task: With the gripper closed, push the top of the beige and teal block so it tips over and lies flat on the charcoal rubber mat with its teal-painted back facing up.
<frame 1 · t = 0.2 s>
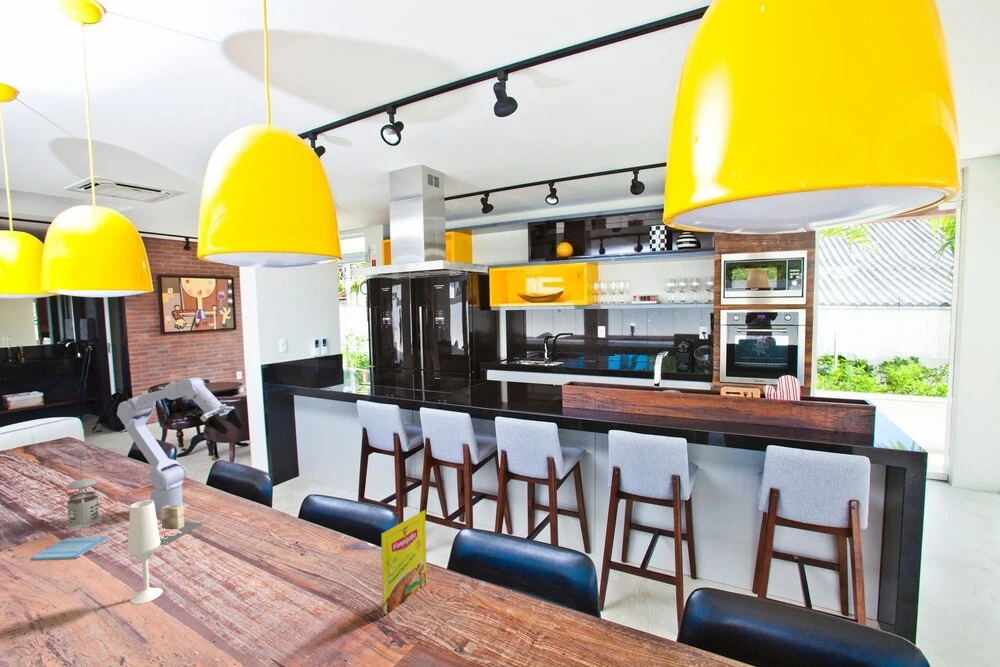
hand: (234, 429, 166), 31 cm above the table, tool tilted 45°, fingers open, 7 cm apart
folded blue cloth: (72, 550, 144), on the table
beige and teal block: (173, 527, 156), resting on mat
food package: (406, 600, 116), on the table
champagne flute: (146, 596, 119), on the table
mat: (164, 533, 153), on the table
french press: (84, 522, 163), on the table
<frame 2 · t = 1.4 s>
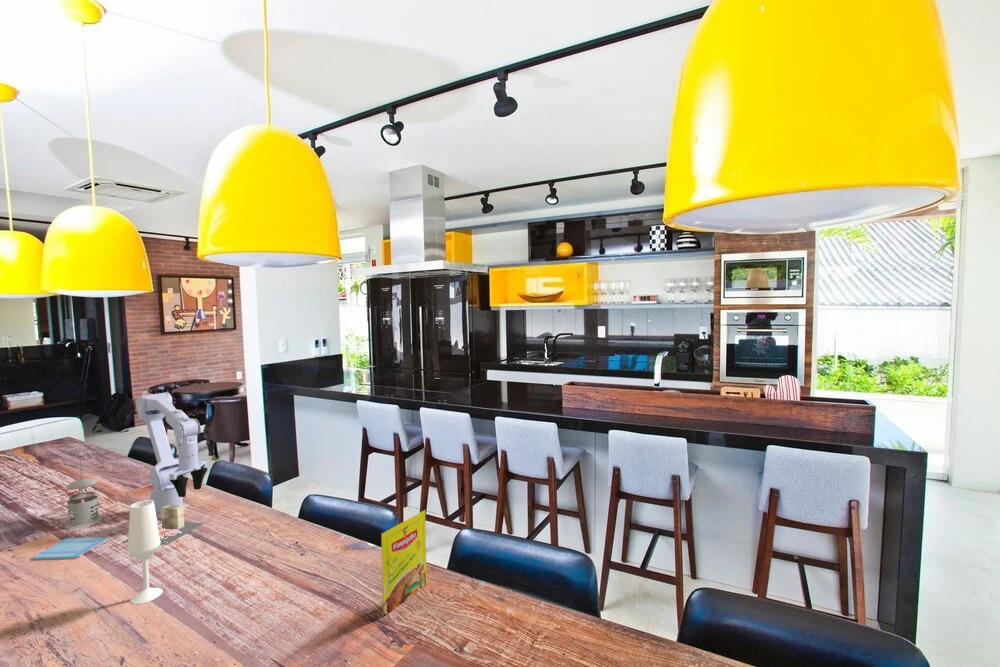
hand: (189, 492, 163), 9 cm above the table, tool pointing down, fingers open, 6 cm apart
nothing on the table moved.
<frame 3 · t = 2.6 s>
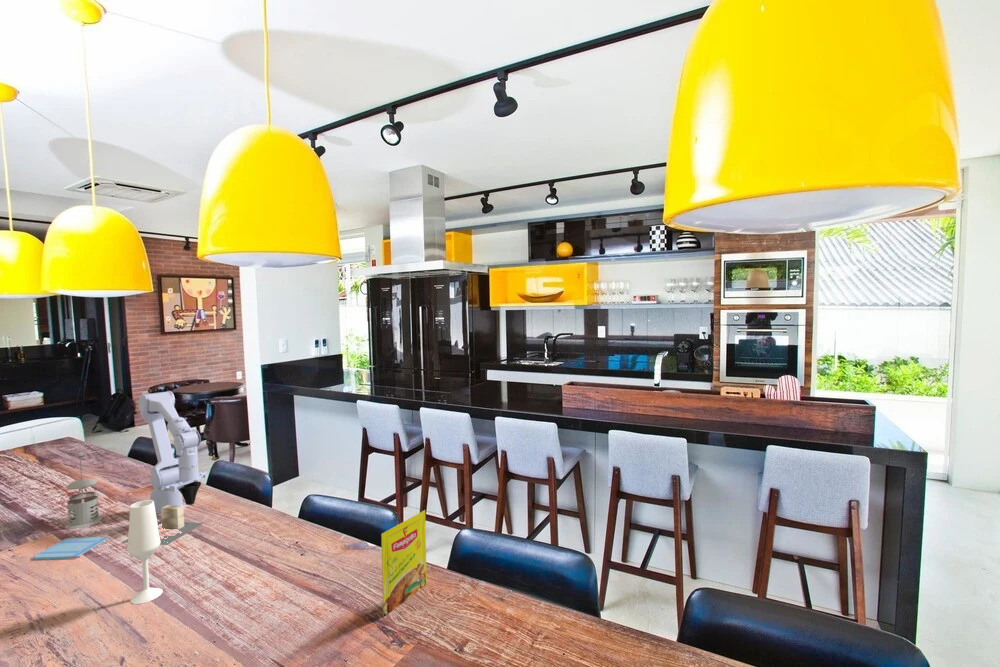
hand: (190, 504, 163), 5 cm above the table, tool pointing down, fingers closed
nothing on the table moved.
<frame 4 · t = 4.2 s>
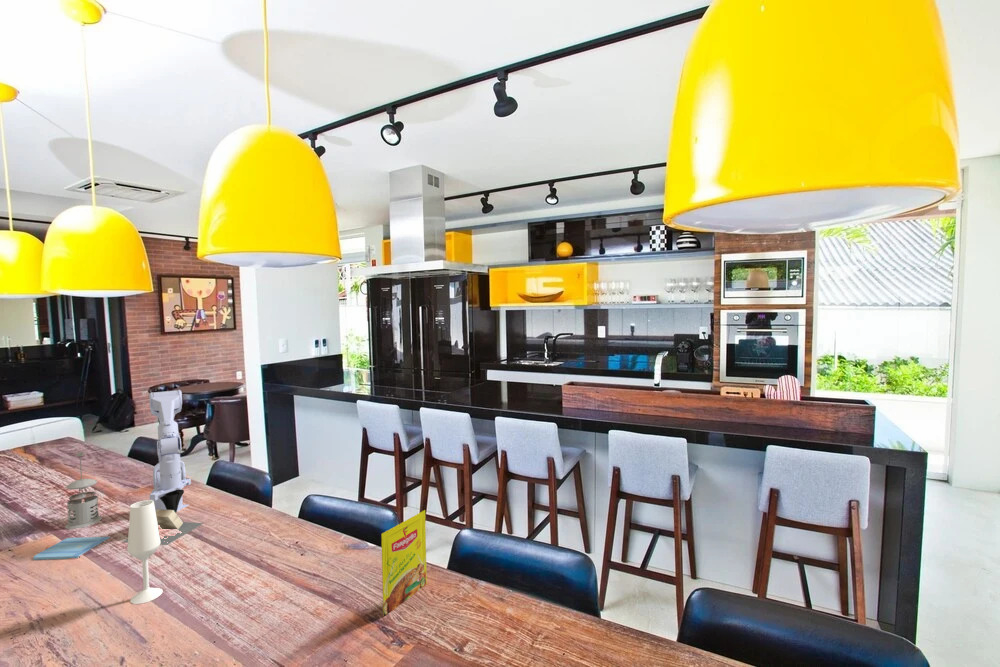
hand: (172, 513, 156), 5 cm above the table, tool pointing down, fingers closed
beige and teal block: (172, 525, 156), point 1 cm above the table, tilted 32°, touching mat
everything else where it was.
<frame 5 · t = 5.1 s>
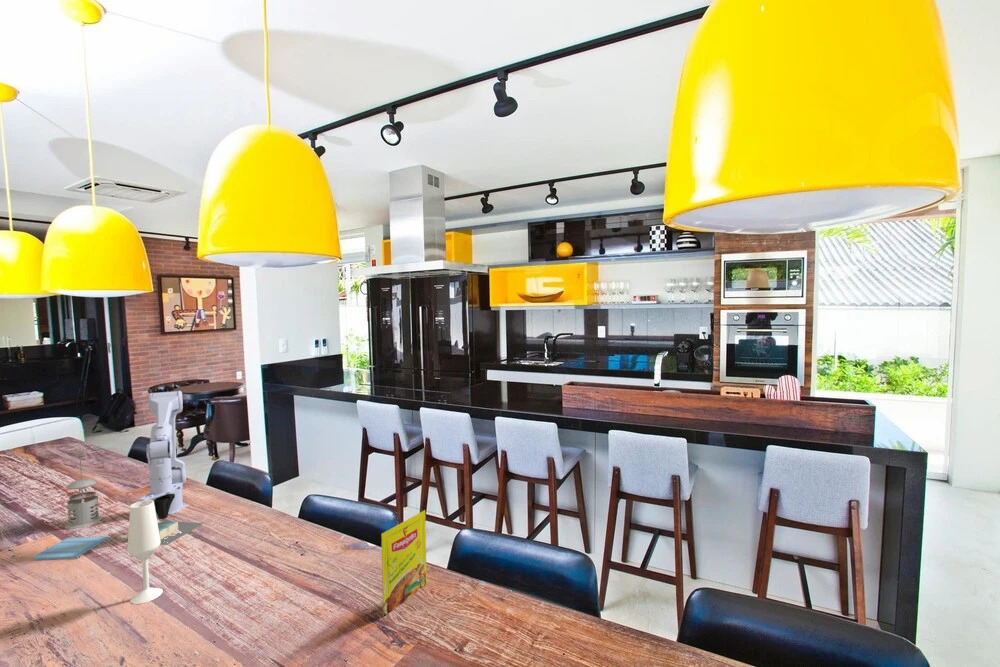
hand: (163, 518, 152), 5 cm above the table, tool pointing down, fingers closed
beige and teal block: (169, 525, 155), point 2 cm above the table, tilted 90°, touching mat
everything else where it was.
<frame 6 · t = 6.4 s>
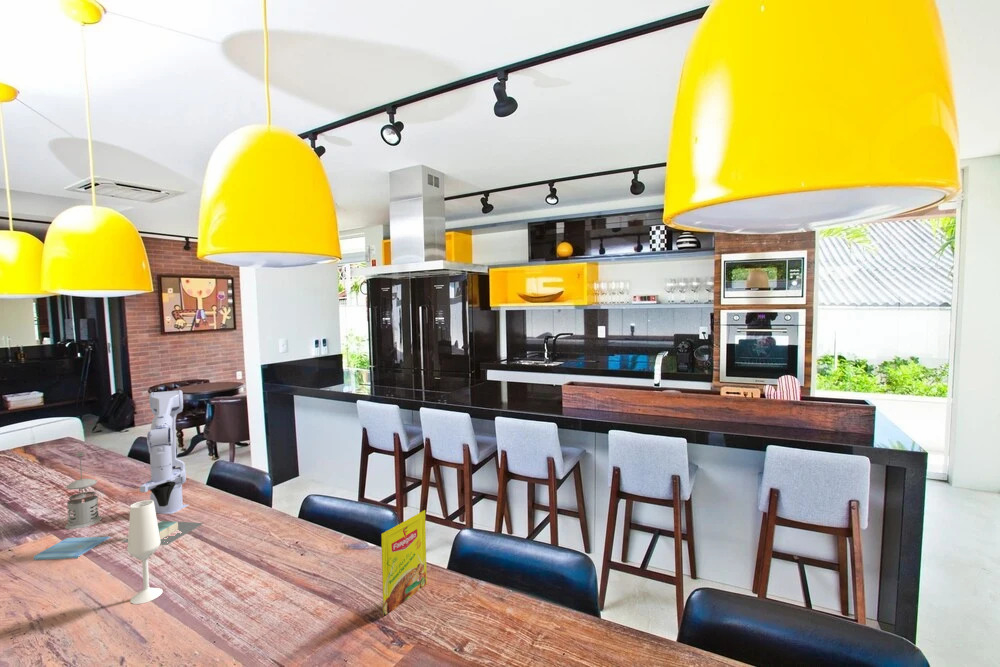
hand: (163, 505, 153), 9 cm above the table, tool pointing down, fingers closed
nothing on the table moved.
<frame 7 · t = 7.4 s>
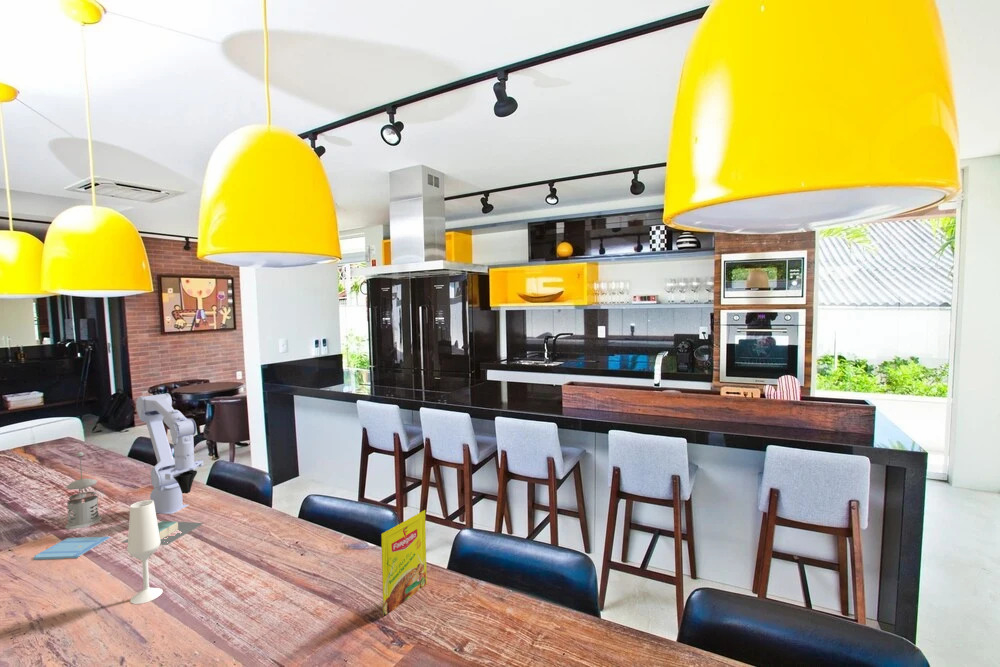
hand: (186, 492, 163), 9 cm above the table, tool pointing down, fingers closed
nothing on the table moved.
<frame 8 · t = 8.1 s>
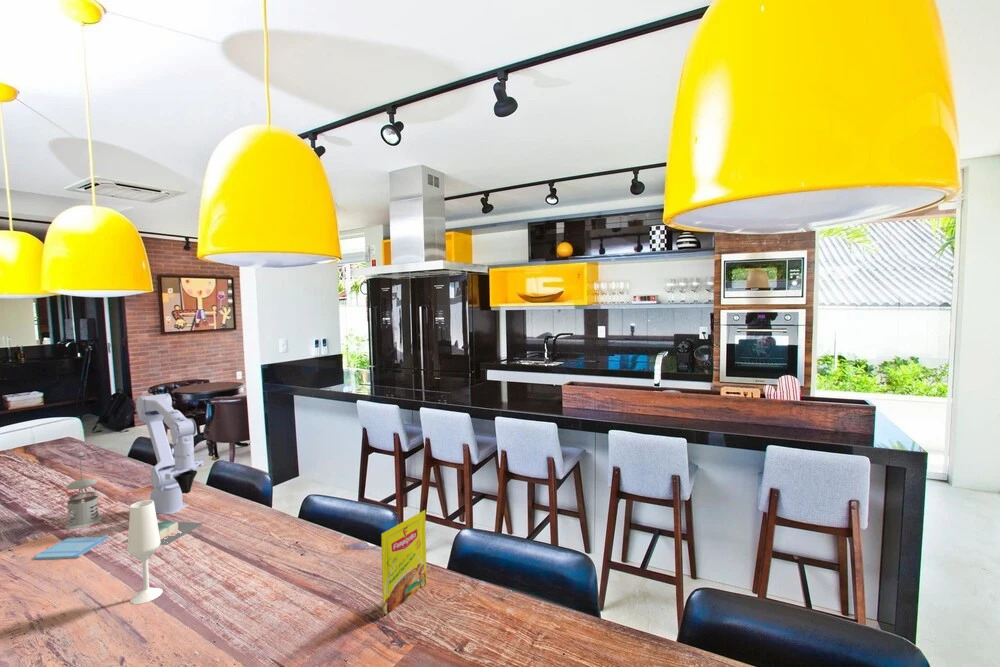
hand: (186, 492, 163), 9 cm above the table, tool pointing down, fingers closed
nothing on the table moved.
at the end: beige and teal block tilted 90°; beige and teal block inside the target area on the mat (2.2 cm from its centre), point 1.7 cm above the mat's base; beige and teal block touching mat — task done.
